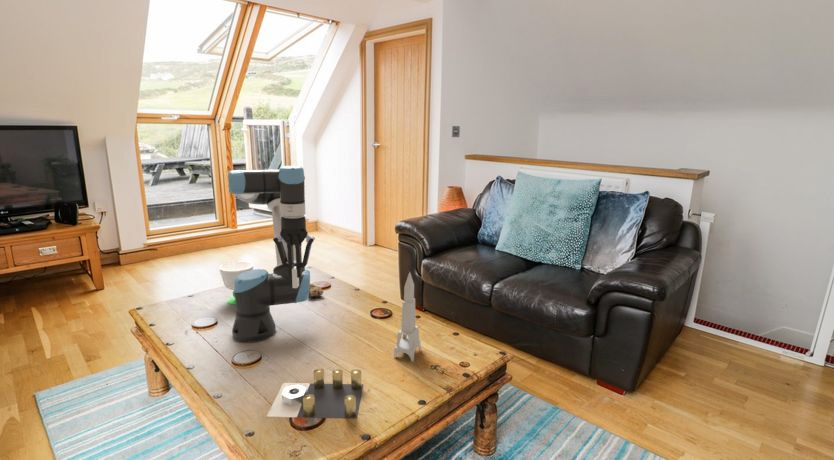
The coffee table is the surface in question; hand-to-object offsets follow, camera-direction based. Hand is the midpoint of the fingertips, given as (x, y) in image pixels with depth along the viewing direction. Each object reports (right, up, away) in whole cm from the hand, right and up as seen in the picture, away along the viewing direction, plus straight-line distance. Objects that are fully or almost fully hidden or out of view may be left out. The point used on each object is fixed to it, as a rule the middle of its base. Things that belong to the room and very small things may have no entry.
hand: (295, 286), depth 148 cm
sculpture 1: (-12, -11, +59) cm, 61 cm away
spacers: (+16, -30, -19) cm, 39 cm away
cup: (-38, -12, +49) cm, 63 cm away
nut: (+5, -29, -20) cm, 36 cm away
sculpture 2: (+36, -24, +8) cm, 44 cm away
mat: (+11, -30, -19) cm, 38 cm away
